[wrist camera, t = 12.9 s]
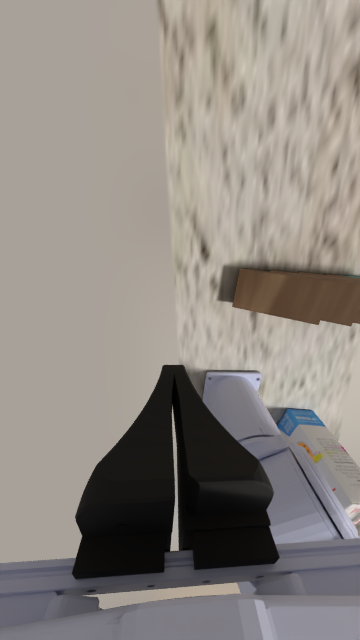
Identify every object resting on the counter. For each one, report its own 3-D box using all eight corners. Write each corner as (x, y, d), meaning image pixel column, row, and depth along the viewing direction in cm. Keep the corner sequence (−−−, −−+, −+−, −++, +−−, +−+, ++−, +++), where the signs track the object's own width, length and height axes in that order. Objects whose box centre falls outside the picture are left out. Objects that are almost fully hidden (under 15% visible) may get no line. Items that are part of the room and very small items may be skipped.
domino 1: (242, 268, 19) (331, 279, 16) (235, 303, 21) (315, 319, 18) (239, 269, 18) (336, 282, 15) (232, 306, 20) (318, 324, 17)
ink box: (285, 407, 29) (385, 551, 16) (313, 409, 30) (431, 550, 16) (266, 440, 32) (334, 581, 19) (291, 441, 33) (374, 580, 20)
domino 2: (271, 270, 20) (364, 281, 17) (261, 304, 21) (345, 320, 18) (270, 271, 18) (372, 284, 15) (260, 308, 20) (350, 326, 17)
